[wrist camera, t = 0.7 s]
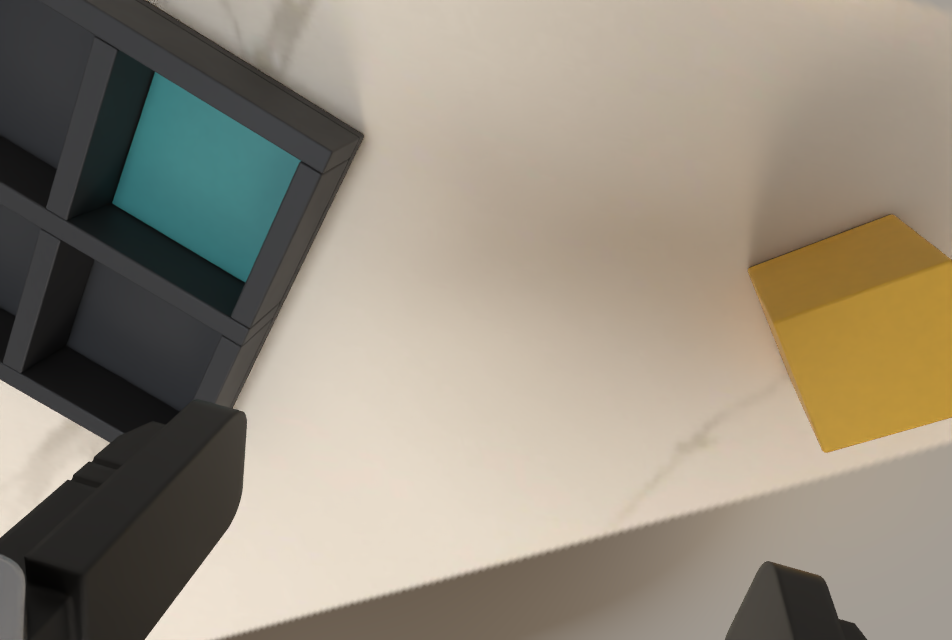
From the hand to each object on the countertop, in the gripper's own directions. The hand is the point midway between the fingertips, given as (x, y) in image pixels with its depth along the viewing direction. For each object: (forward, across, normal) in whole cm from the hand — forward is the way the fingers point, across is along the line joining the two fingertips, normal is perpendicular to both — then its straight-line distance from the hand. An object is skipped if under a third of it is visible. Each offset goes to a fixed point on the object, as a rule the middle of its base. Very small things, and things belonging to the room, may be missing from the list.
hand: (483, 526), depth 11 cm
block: (+15, -9, 0) cm, 18 cm away
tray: (+15, +17, +3) cm, 22 cm away
